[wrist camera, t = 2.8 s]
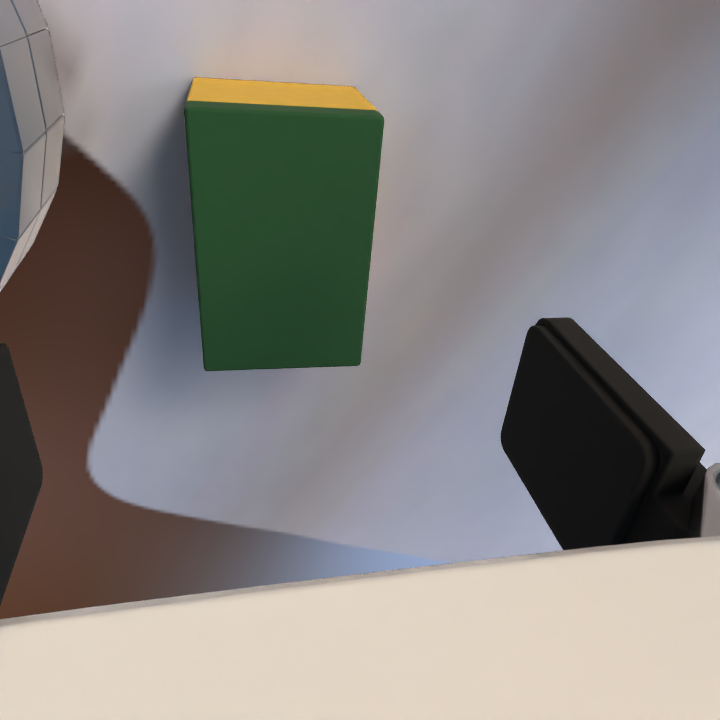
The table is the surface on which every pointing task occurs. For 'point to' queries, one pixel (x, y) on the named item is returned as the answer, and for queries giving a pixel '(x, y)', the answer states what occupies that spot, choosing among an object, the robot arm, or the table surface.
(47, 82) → the bowl
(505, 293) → the table surface
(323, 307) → the sponge
